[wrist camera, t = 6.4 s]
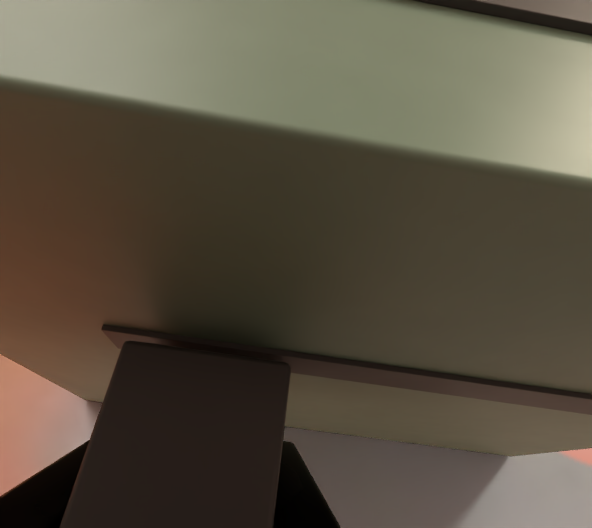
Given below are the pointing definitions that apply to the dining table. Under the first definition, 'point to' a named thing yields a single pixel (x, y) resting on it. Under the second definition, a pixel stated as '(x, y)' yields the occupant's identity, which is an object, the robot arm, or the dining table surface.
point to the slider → (184, 442)
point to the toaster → (310, 204)
